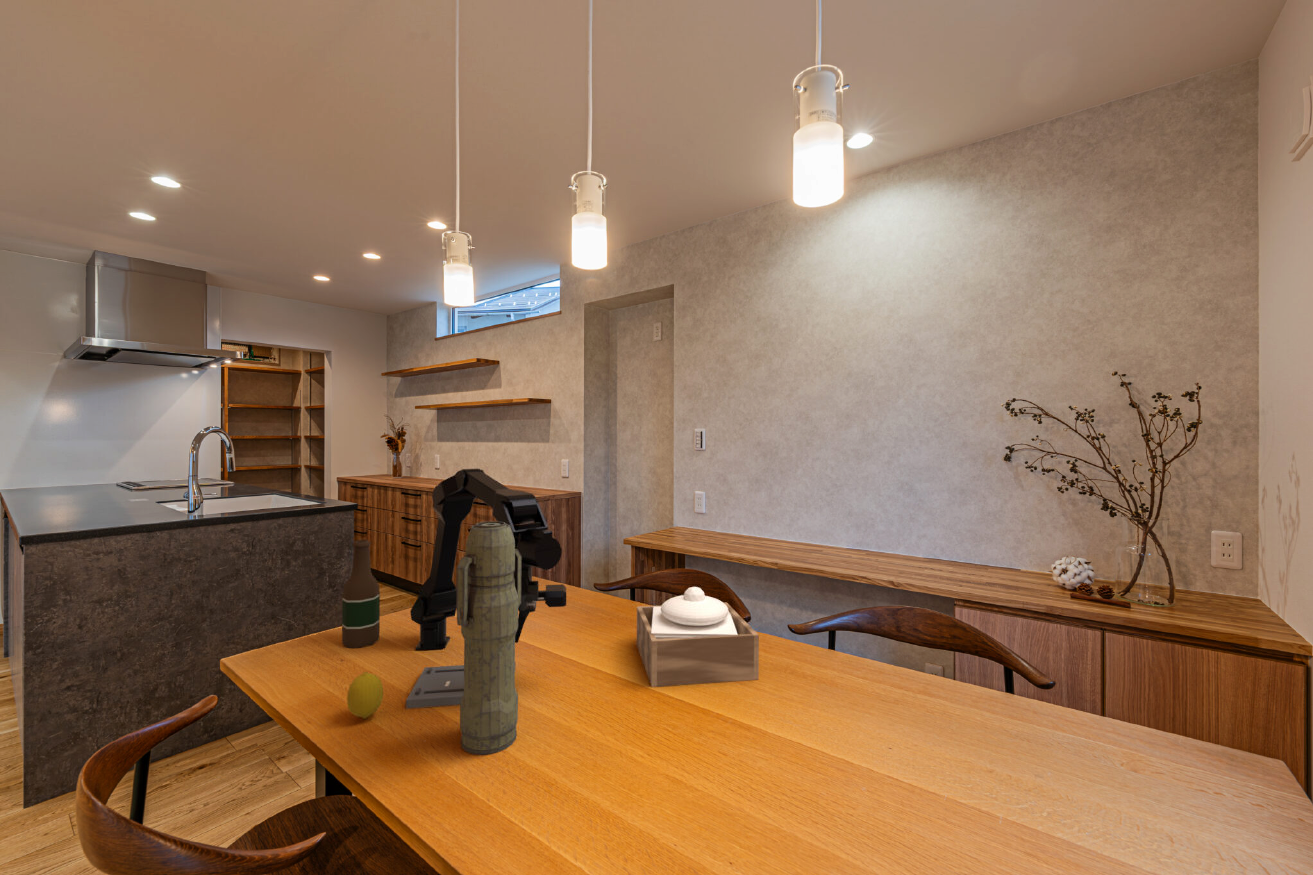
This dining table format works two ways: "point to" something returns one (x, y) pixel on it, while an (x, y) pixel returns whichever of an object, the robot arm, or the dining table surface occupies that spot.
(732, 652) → the dish corral
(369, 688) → the lemon
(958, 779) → the dining table surface
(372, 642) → the beer bottle
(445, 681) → the console
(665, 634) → the butter dish
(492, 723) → the thermos
